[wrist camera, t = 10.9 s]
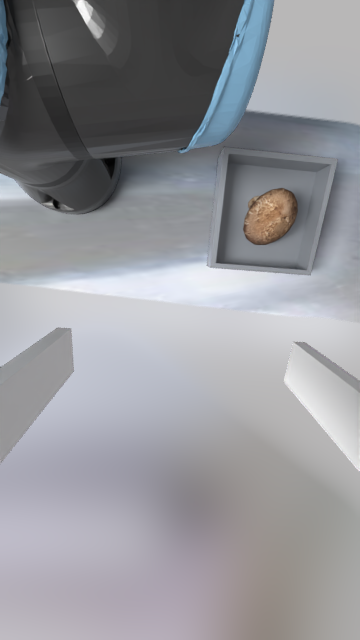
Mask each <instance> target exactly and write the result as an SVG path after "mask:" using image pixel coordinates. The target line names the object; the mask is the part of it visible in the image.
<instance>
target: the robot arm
mask: <svg viewBox="0 0 360 640" xmlns="http://www.w3.org/2000/svg"><path fill="white" fill-rule="evenodd" d="M273 6H274V0H0V173H1V174H3V175H6V176H8V177H10V178H13V179H14V180H15V181H16V182H17V183H18V184H19V186H20V187H21V188H22V189H23V190H24V191H25V192H26V193H27V194H28V195H29V196H30V197H31V198H33V199H34V200H35V201H37V202H38V203H40V204H42V205H43V206H45V207H47V208H50V209H52V210H55V211H58V212H62V213H66V214H83V213H87V212H90V211H93V210H95V209H97V208H98V207H100V206H101V205H102V204H104V203H105V202H106V201H107V200H108V199H109V197H110V196H111V195H112V193H113V191H114V190H115V188H116V185H117V183H118V180H119V176H120V170H121V157H123V156H133V155H143V154H152V153H162V152H172V151H177V152H178V153H185V152H188V151H189V150H190V149H194V148H200V147H207V146H213V145H217V144H219V143H221V142H223V141H224V140H225V139H226V138H227V137H228V136H229V135H230V134H231V133H232V132H233V131H234V130H235V128H236V127H237V125H238V124H239V122H240V120H241V118H242V116H243V114H244V112H245V110H246V108H247V105H248V103H249V100H250V98H251V95H252V92H253V89H254V86H255V83H256V80H257V76H258V73H259V69H260V66H261V62H262V58H263V54H264V50H265V46H266V42H267V37H268V32H269V28H270V23H271V18H272V11H273ZM73 372H74V367H73V352H72V334H71V329H70V328H56V329H55V330H54V331H52V332H51V333H49V334H48V335H46V336H45V337H43V338H42V339H41V340H39V341H38V342H36V343H35V344H33V345H32V346H30V347H29V348H28V349H26V350H25V351H23V352H22V353H20V354H19V355H18V356H16V357H15V358H13V359H12V360H11V361H9V362H8V363H6V364H5V365H4V366H2V367H0V464H1V462H2V461H3V460H4V459H5V457H6V456H7V455H8V454H9V452H10V451H11V450H12V448H13V447H14V446H15V445H16V443H17V442H18V441H19V440H20V439H21V437H22V436H23V435H24V434H25V432H26V431H27V430H28V429H29V427H30V426H31V425H32V423H33V422H34V421H35V420H36V418H37V417H38V416H39V415H40V413H41V412H42V411H43V410H44V408H45V407H46V406H47V404H48V403H49V402H50V401H51V399H52V398H53V397H54V396H55V394H56V393H57V392H58V391H59V389H60V388H61V387H62V386H63V384H64V383H65V382H66V380H67V379H68V378H69V377H70V375H71V374H72V373H73ZM284 383H285V384H286V385H287V386H288V387H289V389H290V390H291V391H292V392H293V393H294V394H295V396H296V397H297V398H298V399H299V400H300V402H301V403H302V404H303V405H304V406H305V407H306V409H307V410H308V411H309V412H310V414H311V415H312V416H313V417H314V418H315V419H316V421H317V422H318V423H319V424H320V425H321V427H322V428H323V429H324V430H325V431H326V433H327V434H328V435H329V436H330V437H331V438H332V440H333V441H334V442H335V443H336V444H337V445H338V447H339V448H340V449H341V450H342V452H343V453H344V454H345V455H346V456H347V457H348V459H349V460H350V461H351V462H352V463H353V465H354V466H355V467H356V468H357V469H358V471H359V472H360V381H359V380H358V379H357V378H355V377H354V376H352V375H351V374H349V373H348V372H347V371H345V370H344V369H342V368H341V367H339V366H338V365H337V364H335V363H334V362H332V361H331V360H330V359H328V358H327V357H325V356H324V355H322V354H321V353H319V352H318V351H317V350H315V349H314V348H312V347H311V346H310V345H308V344H307V343H305V342H293V345H292V349H291V353H290V357H289V362H288V366H287V371H286V375H285V379H284Z"/></svg>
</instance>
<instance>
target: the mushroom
mask: <svg viewBox="0 0 360 640" xmlns="http://www.w3.org/2000/svg"><path fill="white" fill-rule="evenodd" d="M248 208H249V210H248V212H247V214H246V216H245V220H244V226H243V231H244V234H245V237H246V239H247V240H248V241H250V242H251V243H252V244H254V245H267V244H270V243H272V242H275V241H277V240H278V239H280V238H281V237H283V236H284V235H285V234H286V233H287V232H288V231H289V230H290V228H291V227H292V225H293V224H294V222H295V220H296V216H297V213H298V203H297V200H296V197H295V195H294V193H293V192H292V191H289V190H287V189H285V188H278V189H272V190H270V191H268V192H266V193H264V194H263V195H261V196H255V197H253V198H252V199H251V200H250V201H249V202H248Z"/></svg>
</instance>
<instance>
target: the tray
mask: <svg viewBox="0 0 360 640" xmlns="http://www.w3.org/2000/svg"><path fill="white" fill-rule="evenodd" d="M337 161H338V159H335V158H325V157H316V156H307V155H297V154H288V153H279V152H269V151H260V150H251V149H241V148H232V147H224V148H223V150H222V152H221V154H220V156H219V158H218V165H217V174H216V184H215V193H214V202H213V211H212V221H211V230H210V239H209V248H208V258H207V266H208V267H210V268H221V269H234V270H247V271H260V272H273V273H286V274H299V275H311V271H312V267H313V262H314V258H315V254H316V250H317V245H318V241H319V237H320V233H321V229H322V224H323V220H324V216H325V212H326V207H327V203H328V199H329V195H330V190H331V186H332V182H333V178H334V174H335V169H336V165H337ZM278 188H285V189H287V190H289V191H292V192H293V193H294V195H295V197H296V200H297V203H298V213H297V216H296V220H295V222H294V224H293V225H292V227H291V228H290V230H289V231H288V232H287V233H286V234H285V235H284V236H283V237H281V238H280V239H278V240H277V241H275V242H272V243H270V244H267V245H254V244H252V243H251V242H250V241H248V240H247V239H246V237H245V234H244V231H243V226H244V220H245V216H246V214H247V212H248V210H249V208H248V202H249V201H250V200H251V199H252V198H253V197H255V196H261V195H263V194H264V193H266V192H268V191H270V190H272V189H278Z"/></svg>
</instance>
